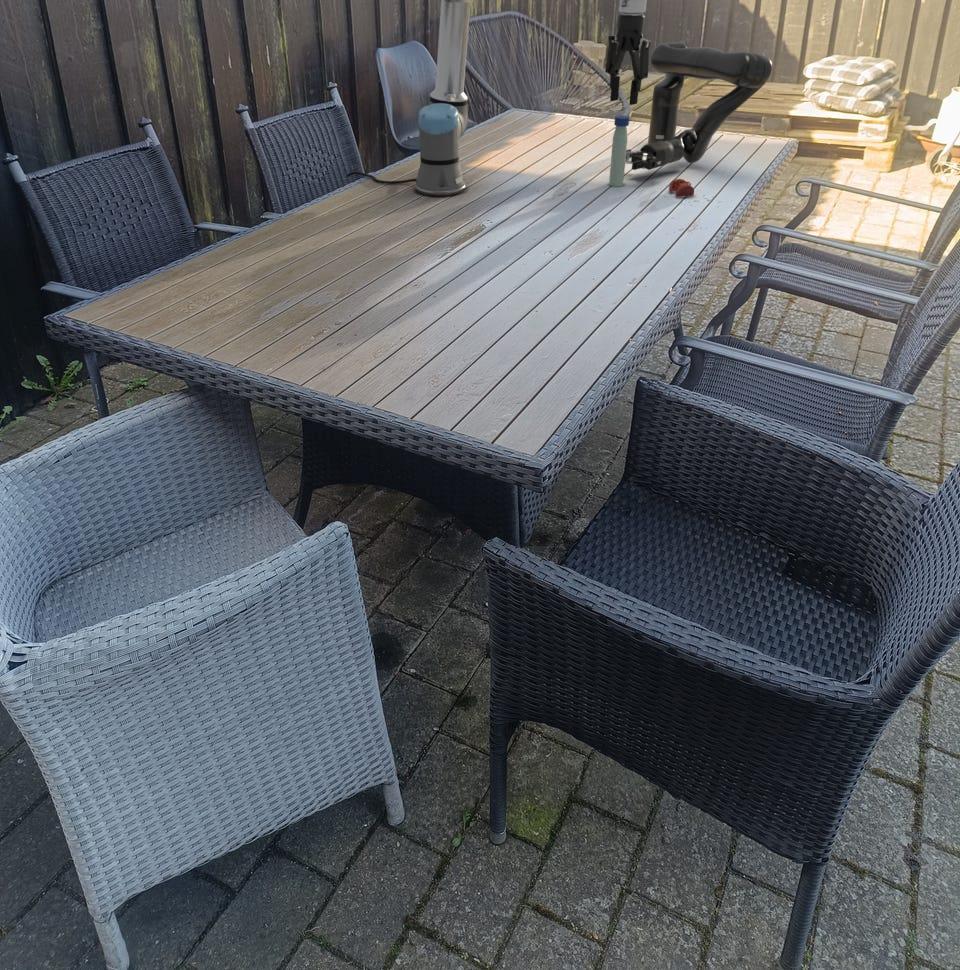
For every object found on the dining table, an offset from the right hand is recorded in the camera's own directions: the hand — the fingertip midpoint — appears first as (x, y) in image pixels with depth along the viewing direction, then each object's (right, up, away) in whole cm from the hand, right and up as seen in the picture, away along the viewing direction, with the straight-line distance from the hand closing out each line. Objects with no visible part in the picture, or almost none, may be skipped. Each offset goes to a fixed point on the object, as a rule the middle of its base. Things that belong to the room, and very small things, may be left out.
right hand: (622, 163), depth 260 cm
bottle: (-2, -5, +3) cm, 6 cm away
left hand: (-2, +14, -11) cm, 18 cm away
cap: (-2, +10, -9) cm, 14 cm away
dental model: (+17, -11, -6) cm, 21 cm away
